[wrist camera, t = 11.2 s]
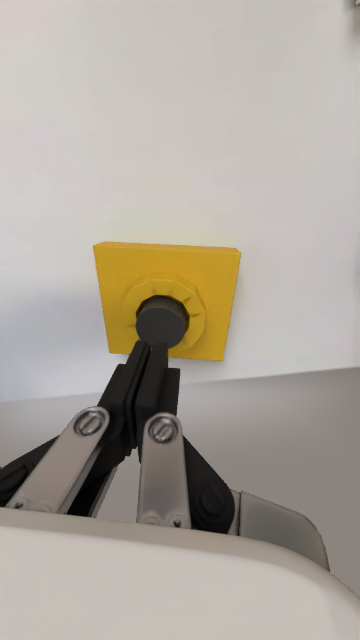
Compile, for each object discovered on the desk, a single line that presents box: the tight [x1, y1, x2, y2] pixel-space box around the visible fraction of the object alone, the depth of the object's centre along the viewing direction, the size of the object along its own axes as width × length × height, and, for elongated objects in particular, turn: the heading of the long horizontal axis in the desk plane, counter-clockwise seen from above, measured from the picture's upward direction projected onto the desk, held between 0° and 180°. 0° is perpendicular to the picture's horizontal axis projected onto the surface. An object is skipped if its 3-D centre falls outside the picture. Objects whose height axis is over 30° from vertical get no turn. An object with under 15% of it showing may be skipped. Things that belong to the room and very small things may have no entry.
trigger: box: [136, 297, 186, 349], centre depth 15 cm, size 4×4×2 cm
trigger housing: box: [93, 242, 241, 361], centre depth 18 cm, size 10×11×4 cm
